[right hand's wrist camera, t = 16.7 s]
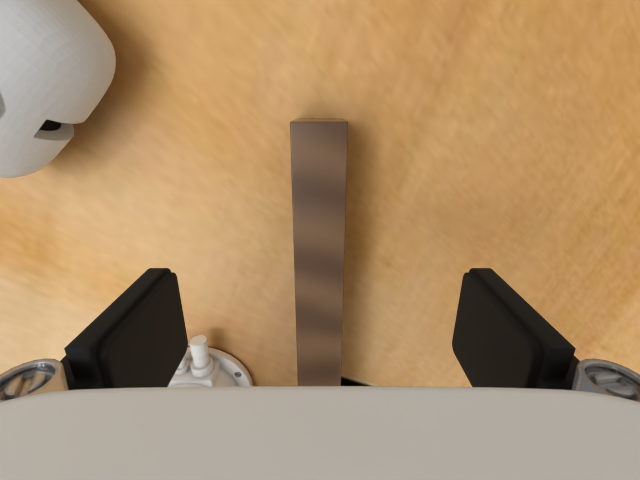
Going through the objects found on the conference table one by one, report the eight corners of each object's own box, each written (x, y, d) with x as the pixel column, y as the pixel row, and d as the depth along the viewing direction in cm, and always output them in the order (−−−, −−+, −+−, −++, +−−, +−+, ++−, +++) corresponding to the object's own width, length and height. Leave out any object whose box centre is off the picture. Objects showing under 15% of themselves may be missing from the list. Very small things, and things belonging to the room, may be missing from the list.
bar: (295, 118, 33) (289, 121, 27) (342, 118, 33) (348, 121, 27) (306, 569, 59) (305, 623, 53) (332, 569, 59) (334, 623, 53)
